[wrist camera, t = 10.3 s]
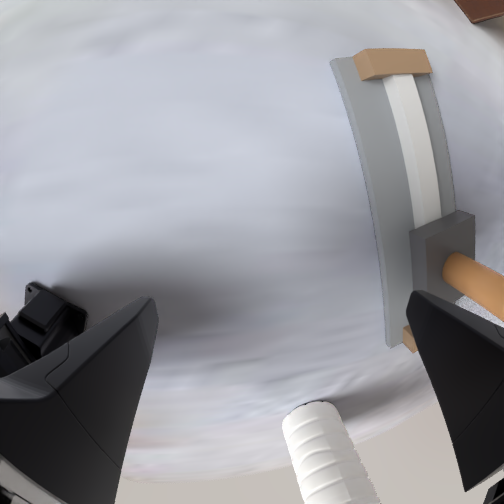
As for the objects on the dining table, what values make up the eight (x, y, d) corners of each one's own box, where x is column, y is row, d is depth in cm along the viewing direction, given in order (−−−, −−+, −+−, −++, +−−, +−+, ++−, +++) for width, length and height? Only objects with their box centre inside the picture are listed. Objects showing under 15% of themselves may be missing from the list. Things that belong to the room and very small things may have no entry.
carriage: (408, 231, 19) (515, 285, 9) (458, 210, 19) (554, 246, 9) (413, 307, 21) (490, 377, 11) (458, 281, 21) (534, 332, 12)
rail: (329, 62, 17) (346, 49, 14) (415, 57, 17) (436, 50, 14) (386, 343, 26) (400, 360, 23) (448, 307, 26) (464, 320, 23)
